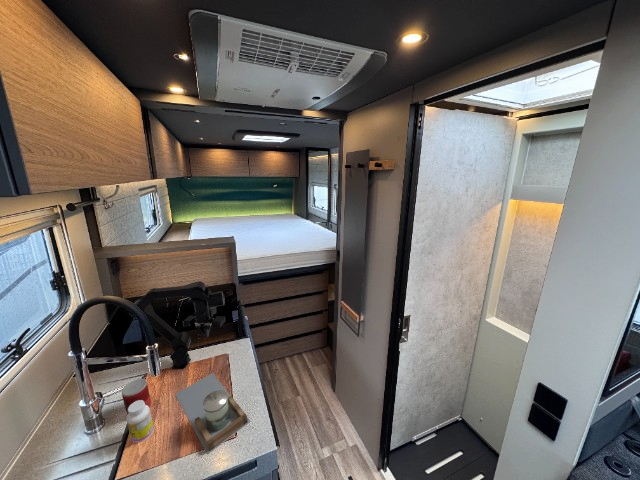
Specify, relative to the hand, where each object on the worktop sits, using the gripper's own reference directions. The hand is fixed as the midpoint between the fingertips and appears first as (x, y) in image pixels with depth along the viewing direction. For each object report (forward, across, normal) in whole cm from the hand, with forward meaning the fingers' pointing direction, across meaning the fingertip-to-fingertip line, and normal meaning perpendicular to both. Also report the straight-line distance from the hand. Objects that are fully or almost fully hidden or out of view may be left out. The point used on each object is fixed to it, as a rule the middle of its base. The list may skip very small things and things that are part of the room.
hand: (207, 336), depth 122 cm
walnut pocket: (+13, -21, +32) cm, 40 cm away
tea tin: (+13, -20, +31) cm, 39 cm away
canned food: (+12, +14, +29) cm, 34 cm away
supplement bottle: (+12, +5, +38) cm, 40 cm away
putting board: (+13, -14, +26) cm, 32 cm away
